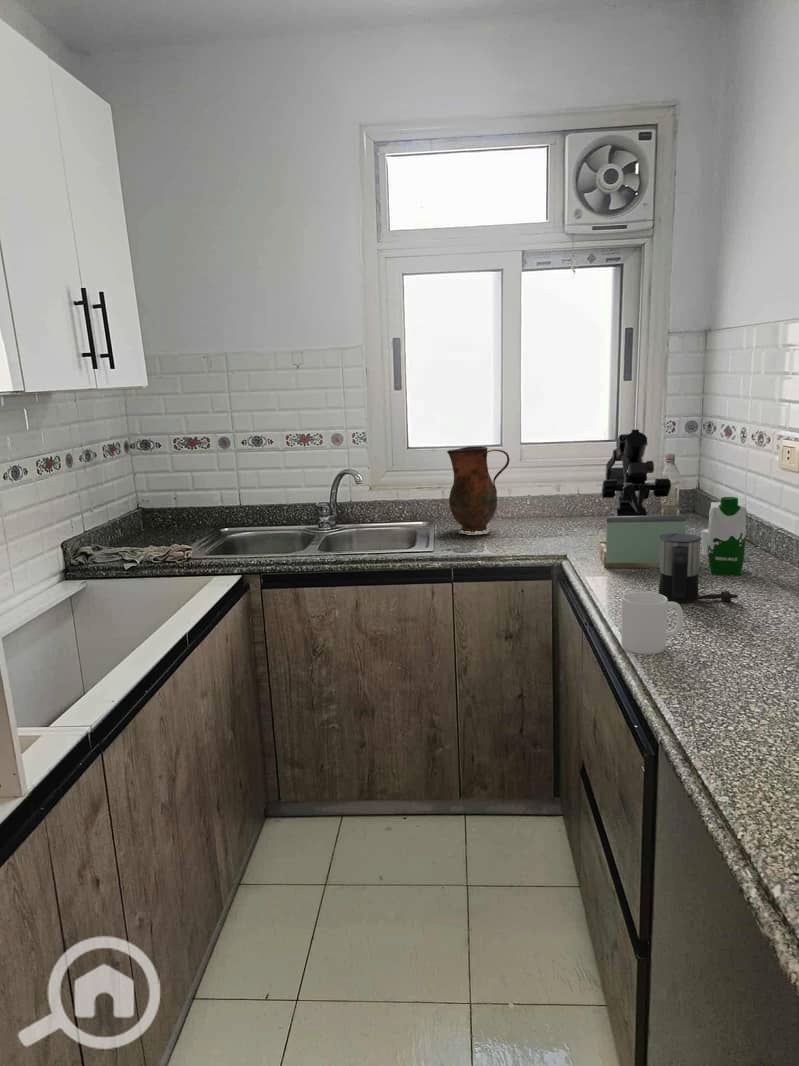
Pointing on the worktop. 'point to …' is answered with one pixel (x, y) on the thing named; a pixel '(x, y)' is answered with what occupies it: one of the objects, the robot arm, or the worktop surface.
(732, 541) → the milk carton
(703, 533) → the shot glass
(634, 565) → the beige open tray
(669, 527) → the sage green panel
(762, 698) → the worktop surface
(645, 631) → the cup
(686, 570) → the milk frother
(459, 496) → the pitcher
